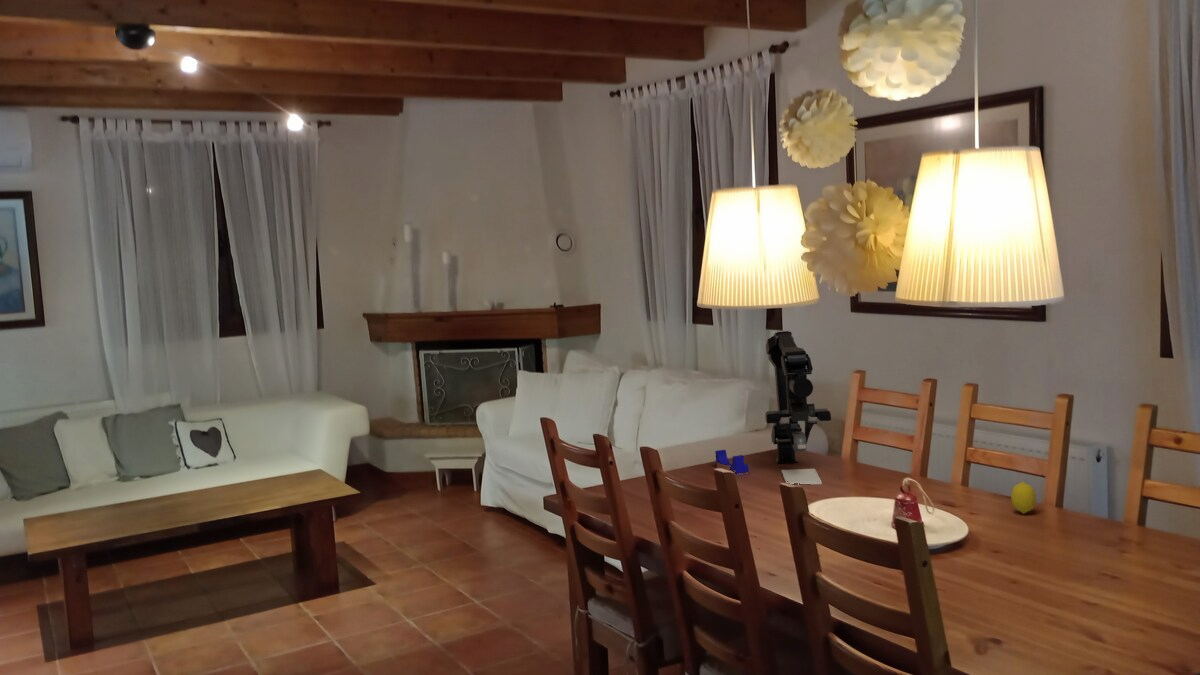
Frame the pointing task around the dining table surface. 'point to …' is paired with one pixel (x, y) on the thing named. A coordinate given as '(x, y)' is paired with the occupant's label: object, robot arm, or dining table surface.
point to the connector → (799, 441)
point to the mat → (801, 476)
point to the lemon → (1023, 497)
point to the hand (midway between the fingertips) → (799, 444)
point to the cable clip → (736, 463)
